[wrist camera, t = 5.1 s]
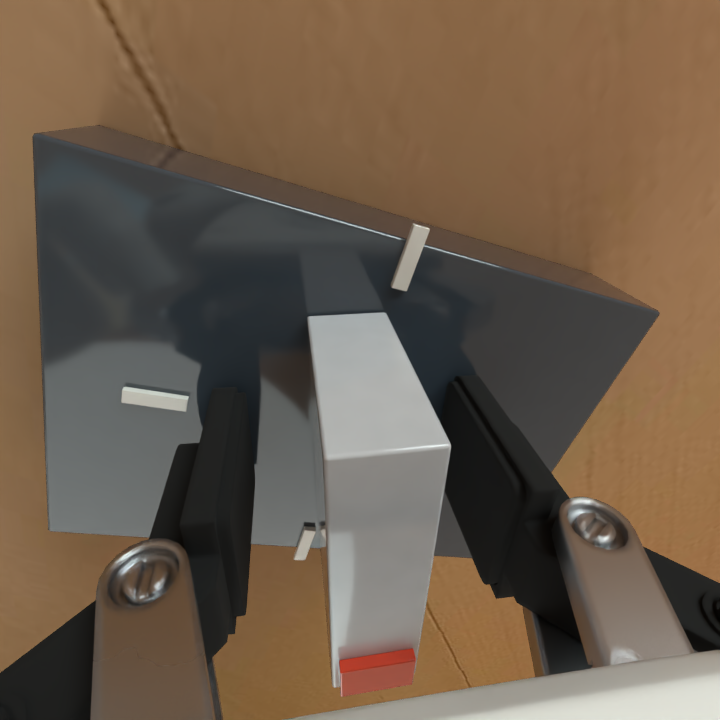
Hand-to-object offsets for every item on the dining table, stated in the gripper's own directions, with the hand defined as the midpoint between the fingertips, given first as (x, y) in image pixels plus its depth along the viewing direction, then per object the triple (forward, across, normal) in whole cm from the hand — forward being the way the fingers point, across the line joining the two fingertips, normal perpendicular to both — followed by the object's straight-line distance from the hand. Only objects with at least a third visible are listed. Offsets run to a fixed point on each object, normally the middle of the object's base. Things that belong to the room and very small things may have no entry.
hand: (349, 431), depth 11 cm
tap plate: (+3, 0, 0) cm, 3 cm away
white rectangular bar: (0, 0, 0) cm, 0 cm away
